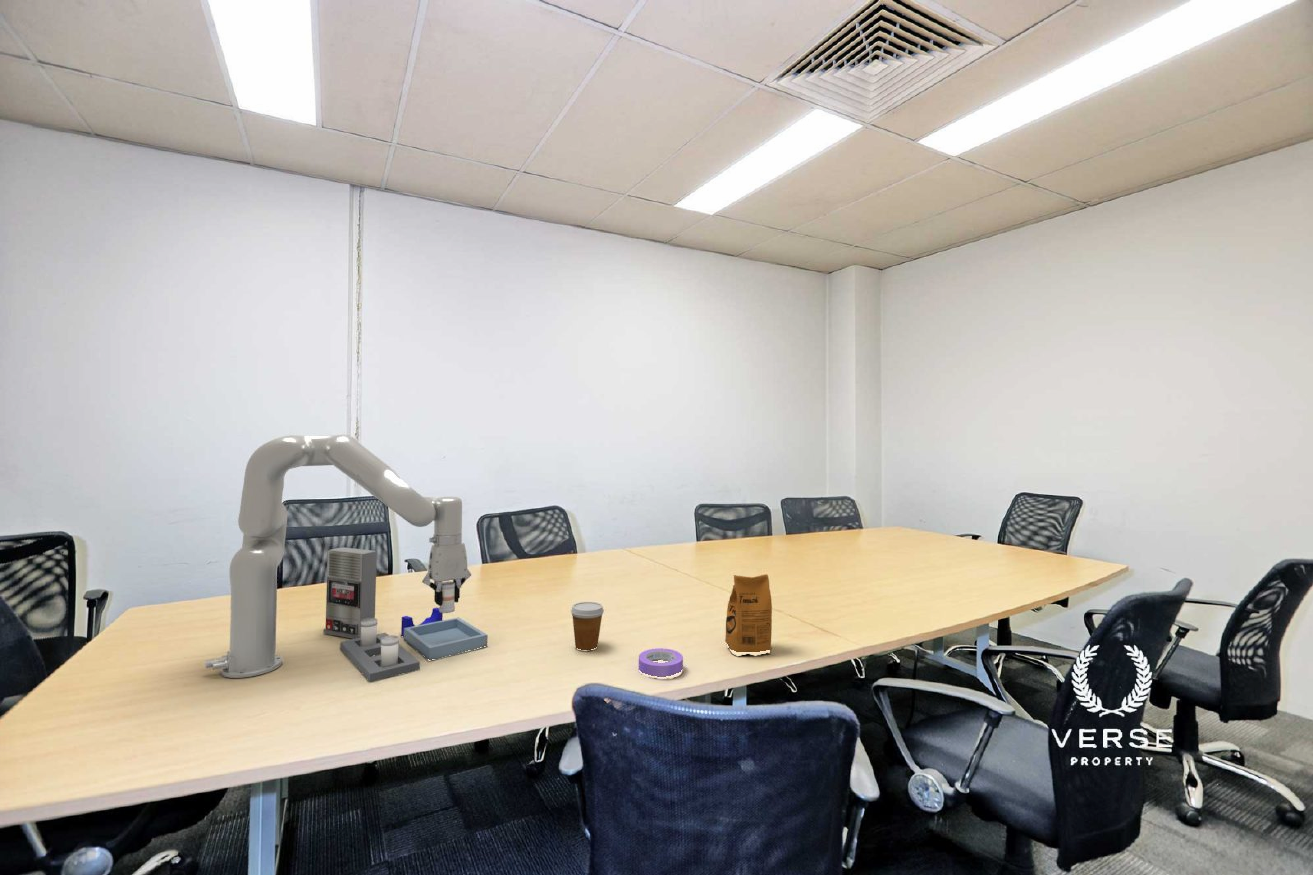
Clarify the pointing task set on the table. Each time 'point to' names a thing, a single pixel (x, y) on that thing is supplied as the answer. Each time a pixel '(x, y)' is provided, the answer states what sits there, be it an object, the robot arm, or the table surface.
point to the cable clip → (434, 617)
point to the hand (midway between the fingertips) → (447, 602)
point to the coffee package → (749, 615)
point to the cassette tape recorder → (349, 590)
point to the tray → (444, 638)
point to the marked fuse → (447, 597)
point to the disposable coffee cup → (587, 624)
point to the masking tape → (657, 668)
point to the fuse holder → (377, 659)
